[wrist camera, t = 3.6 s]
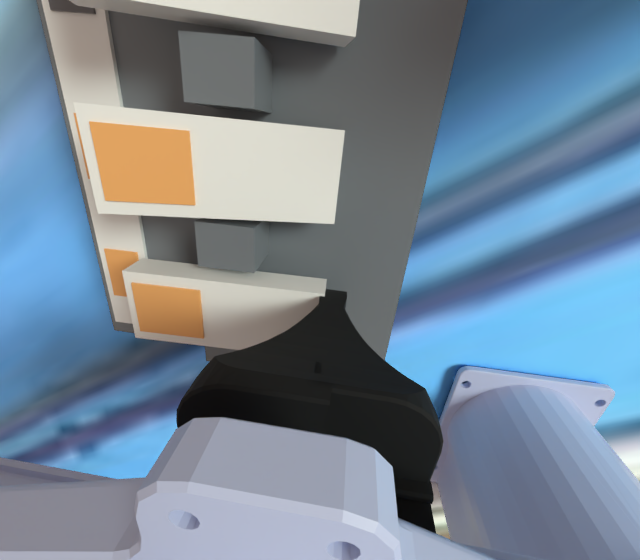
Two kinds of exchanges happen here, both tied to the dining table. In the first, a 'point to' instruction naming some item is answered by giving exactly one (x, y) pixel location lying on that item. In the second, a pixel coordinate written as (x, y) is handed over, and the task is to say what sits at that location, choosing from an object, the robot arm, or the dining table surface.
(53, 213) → the dining table surface
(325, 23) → the rocker
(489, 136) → the dining table surface
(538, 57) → the dining table surface
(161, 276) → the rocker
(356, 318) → the switch unit
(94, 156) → the rocker middle
